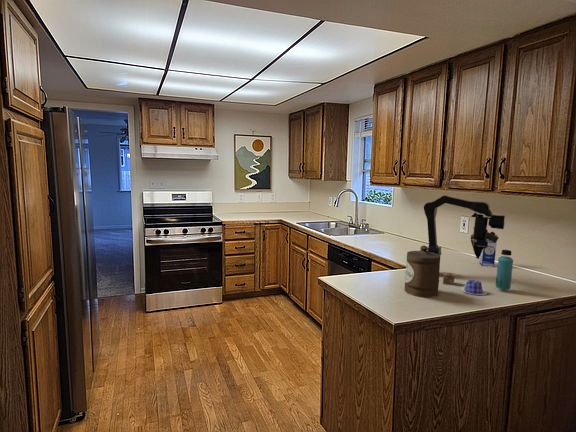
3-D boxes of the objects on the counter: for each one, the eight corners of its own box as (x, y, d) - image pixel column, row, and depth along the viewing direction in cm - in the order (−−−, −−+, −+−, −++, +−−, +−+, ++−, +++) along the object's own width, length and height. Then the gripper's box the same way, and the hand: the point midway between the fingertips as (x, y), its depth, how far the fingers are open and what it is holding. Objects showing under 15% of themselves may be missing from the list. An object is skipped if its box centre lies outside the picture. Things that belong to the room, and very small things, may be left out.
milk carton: (481, 265, 224) (484, 233, 222) (479, 263, 231) (482, 231, 228) (494, 267, 222) (497, 234, 220) (491, 264, 229) (495, 232, 226)
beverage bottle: (512, 290, 178) (516, 250, 175) (507, 293, 173) (512, 252, 171) (497, 287, 183) (501, 248, 180) (492, 290, 178) (497, 249, 175)
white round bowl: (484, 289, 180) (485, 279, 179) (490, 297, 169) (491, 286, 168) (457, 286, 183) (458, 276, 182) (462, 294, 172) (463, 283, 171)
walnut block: (442, 284, 186) (443, 274, 185) (443, 281, 191) (443, 272, 190) (453, 285, 184) (454, 275, 183) (453, 282, 189) (454, 273, 188)
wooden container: (405, 285, 182) (408, 241, 179) (437, 289, 177) (441, 244, 174) (403, 294, 168) (406, 247, 166) (438, 299, 163) (442, 250, 160)
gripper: (501, 231, 176) (497, 262, 178) (495, 225, 193) (491, 254, 196) (475, 228, 180) (471, 259, 182) (472, 223, 197) (468, 251, 200)
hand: (476, 256), depth 190 cm, fingers open, 9 cm apart
